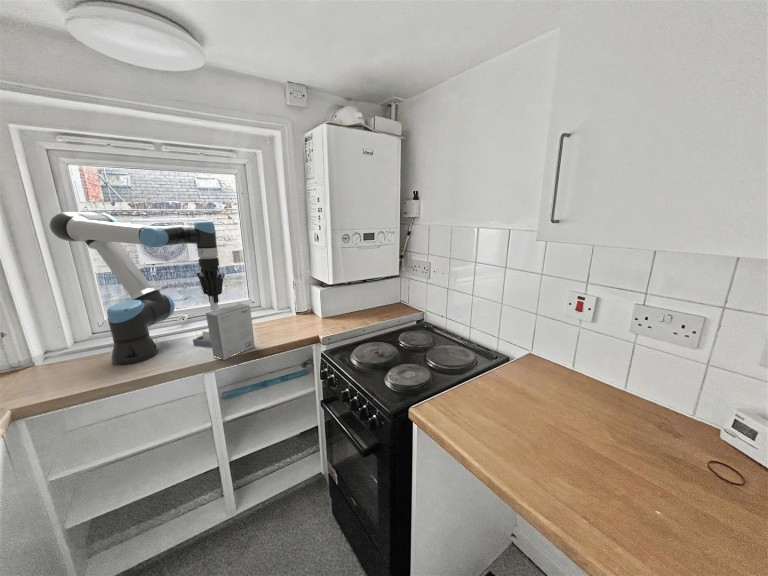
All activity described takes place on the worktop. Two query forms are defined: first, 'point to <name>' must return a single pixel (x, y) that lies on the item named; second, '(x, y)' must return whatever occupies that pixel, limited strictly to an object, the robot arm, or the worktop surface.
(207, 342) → the dark grey tray
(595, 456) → the worktop surface
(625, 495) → the worktop surface
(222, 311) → the hard drive box
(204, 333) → the tab
